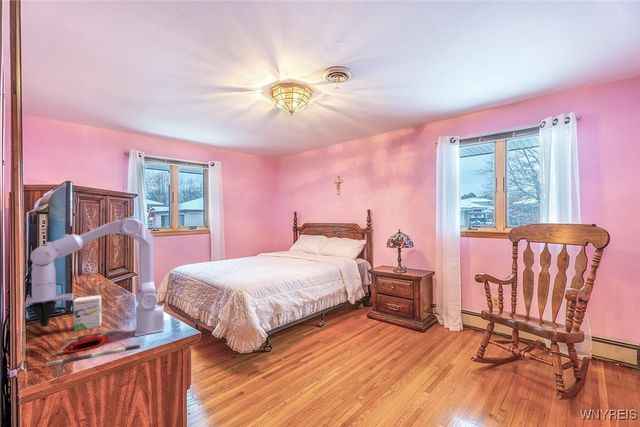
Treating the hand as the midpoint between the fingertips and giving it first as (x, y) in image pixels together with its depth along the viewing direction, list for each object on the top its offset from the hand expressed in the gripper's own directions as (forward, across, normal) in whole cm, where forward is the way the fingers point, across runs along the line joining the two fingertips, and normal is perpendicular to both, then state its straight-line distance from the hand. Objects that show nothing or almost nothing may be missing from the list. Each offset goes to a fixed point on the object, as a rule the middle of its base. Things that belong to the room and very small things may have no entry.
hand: (44, 325), depth 97 cm
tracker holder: (+10, -10, -1) cm, 14 cm away
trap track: (+9, -14, 0) cm, 16 cm away
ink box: (+10, -8, -23) cm, 26 cm away
